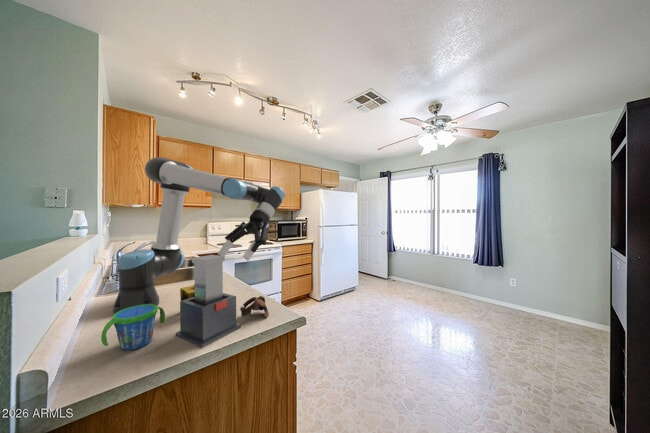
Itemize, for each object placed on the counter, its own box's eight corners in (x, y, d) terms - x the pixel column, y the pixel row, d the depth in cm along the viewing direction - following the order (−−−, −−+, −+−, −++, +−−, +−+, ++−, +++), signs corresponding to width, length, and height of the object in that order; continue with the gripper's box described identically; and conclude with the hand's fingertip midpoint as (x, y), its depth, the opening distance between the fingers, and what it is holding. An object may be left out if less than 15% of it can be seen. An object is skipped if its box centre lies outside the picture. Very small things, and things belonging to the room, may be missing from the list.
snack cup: (108, 364, 61) (108, 325, 61) (95, 352, 66) (94, 316, 66) (173, 337, 74) (173, 305, 74) (157, 329, 79) (157, 299, 79)
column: (192, 330, 76) (191, 258, 76) (212, 321, 82) (211, 254, 82) (205, 335, 73) (204, 260, 72) (225, 325, 79) (224, 256, 79)
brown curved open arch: (266, 323, 84) (254, 305, 83) (245, 332, 86) (233, 315, 84) (275, 303, 96) (265, 287, 94) (256, 311, 98) (245, 296, 96)
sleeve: (175, 335, 75) (175, 301, 75) (214, 318, 87) (214, 289, 87) (201, 348, 68) (201, 310, 68) (240, 327, 80) (240, 295, 80)
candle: (216, 312, 93) (216, 287, 93) (188, 320, 86) (188, 293, 86) (206, 305, 100) (206, 282, 100) (180, 312, 93) (179, 287, 93)
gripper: (289, 221, 94) (263, 266, 81) (246, 221, 106) (217, 259, 93) (281, 208, 89) (251, 253, 76) (236, 209, 101) (204, 248, 89)
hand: (232, 257), depth 85 cm, fingers open, 13 cm apart
